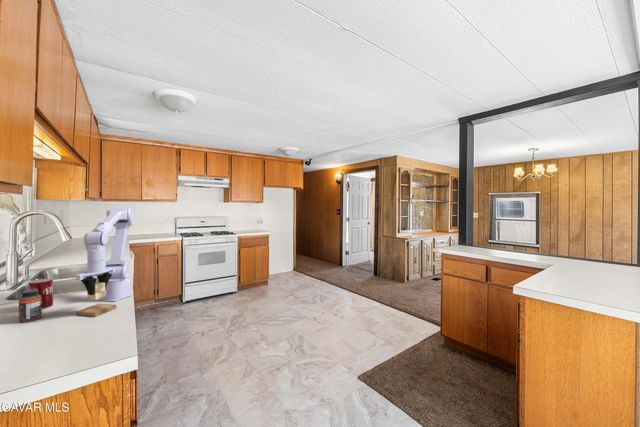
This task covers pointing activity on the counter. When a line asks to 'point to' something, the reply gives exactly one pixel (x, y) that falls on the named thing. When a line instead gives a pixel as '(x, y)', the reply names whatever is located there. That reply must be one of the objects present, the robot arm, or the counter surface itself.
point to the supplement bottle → (30, 306)
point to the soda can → (43, 291)
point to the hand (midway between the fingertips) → (96, 293)
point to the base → (96, 310)
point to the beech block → (98, 291)
